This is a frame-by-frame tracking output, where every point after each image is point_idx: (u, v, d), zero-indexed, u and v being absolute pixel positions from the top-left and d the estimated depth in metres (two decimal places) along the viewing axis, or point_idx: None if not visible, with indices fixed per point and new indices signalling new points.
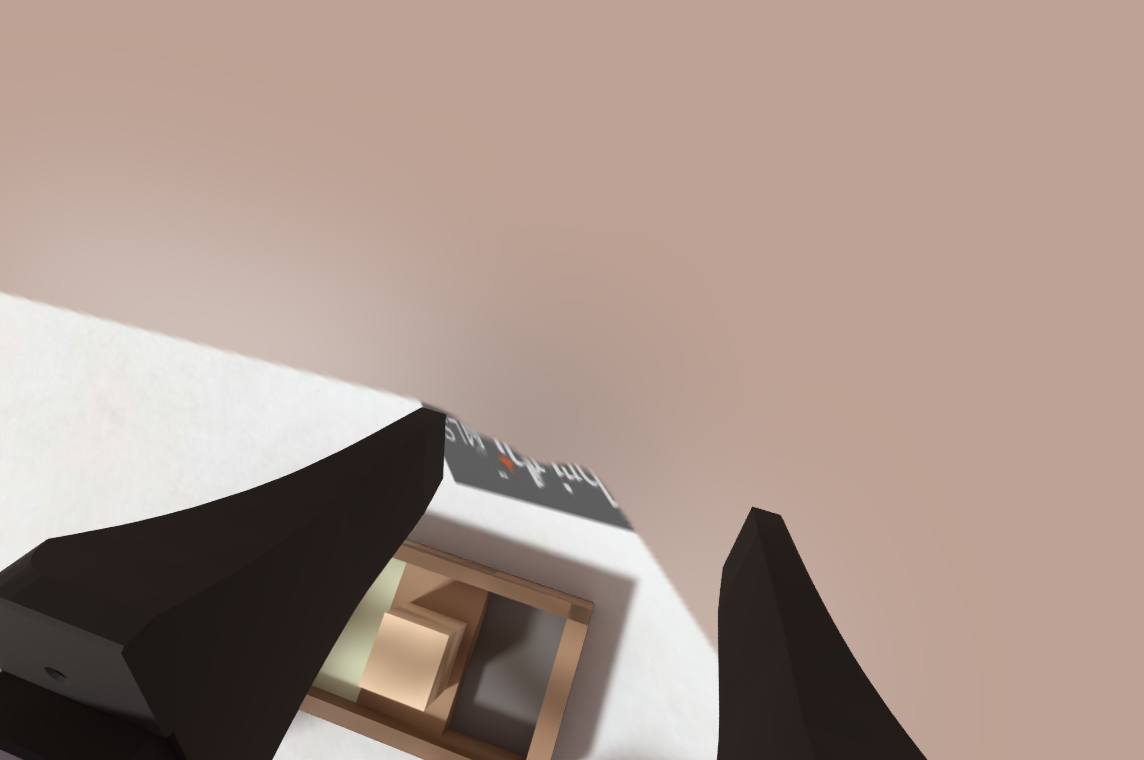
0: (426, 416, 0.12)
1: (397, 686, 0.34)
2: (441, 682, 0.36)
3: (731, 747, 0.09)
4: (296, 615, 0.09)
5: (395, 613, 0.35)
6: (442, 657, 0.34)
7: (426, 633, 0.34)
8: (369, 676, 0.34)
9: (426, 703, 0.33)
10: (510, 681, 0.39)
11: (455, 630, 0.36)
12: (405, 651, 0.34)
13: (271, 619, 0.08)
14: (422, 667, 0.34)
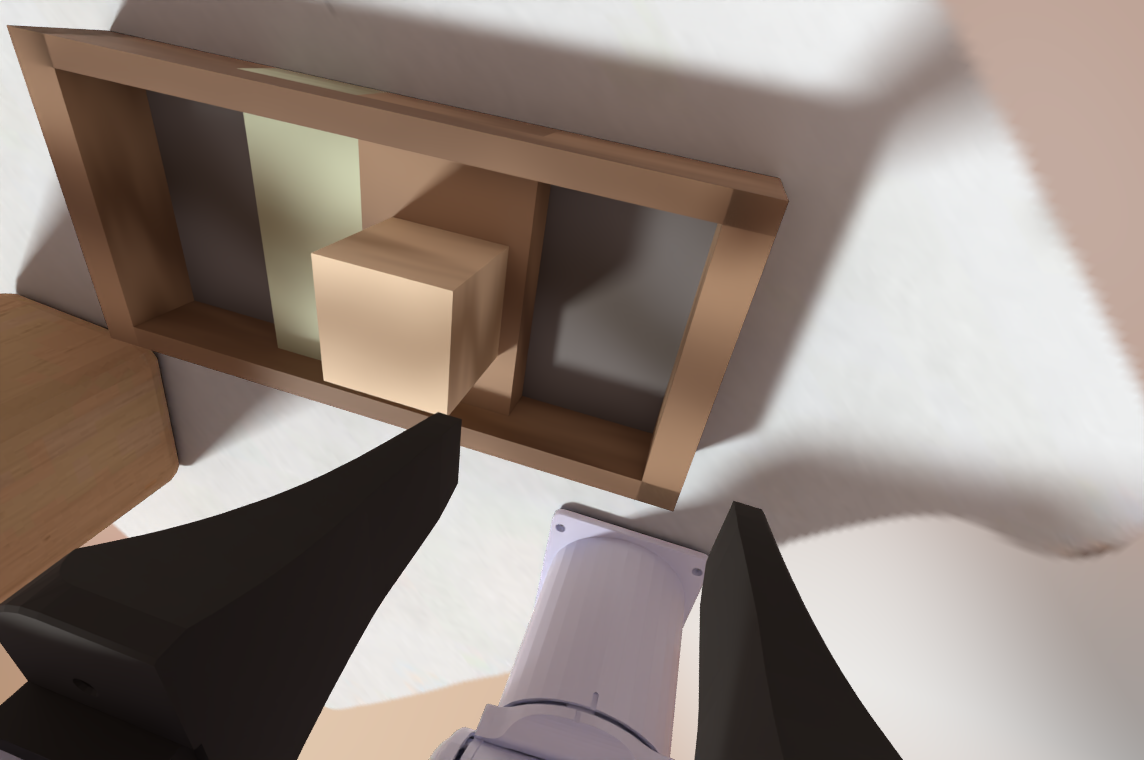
0: (442, 421, 0.12)
1: (387, 381, 0.18)
2: (478, 357, 0.19)
3: (708, 739, 0.09)
4: (318, 623, 0.09)
5: (339, 251, 0.16)
6: (453, 330, 0.16)
7: (406, 289, 0.16)
8: (334, 366, 0.18)
9: (447, 405, 0.18)
10: (612, 333, 0.22)
11: (474, 271, 0.17)
12: (378, 324, 0.16)
13: (295, 628, 0.08)
14: (421, 350, 0.17)
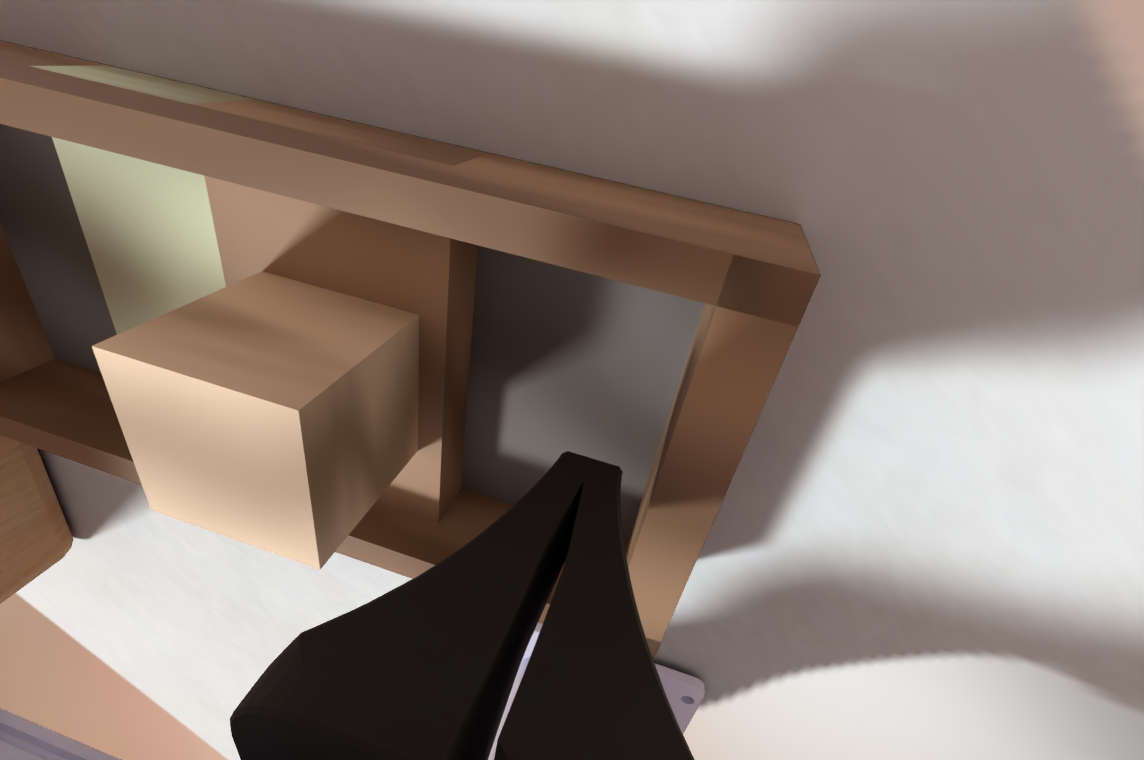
0: (577, 461, 0.12)
1: (232, 518, 0.12)
2: (376, 469, 0.14)
3: None
4: (500, 690, 0.08)
5: (143, 339, 0.11)
6: (312, 460, 0.11)
7: (232, 403, 0.10)
8: (160, 494, 0.12)
9: (320, 553, 0.12)
10: (570, 420, 0.16)
11: (350, 366, 0.11)
12: (205, 446, 0.11)
13: (492, 701, 0.08)
14: (269, 485, 0.11)
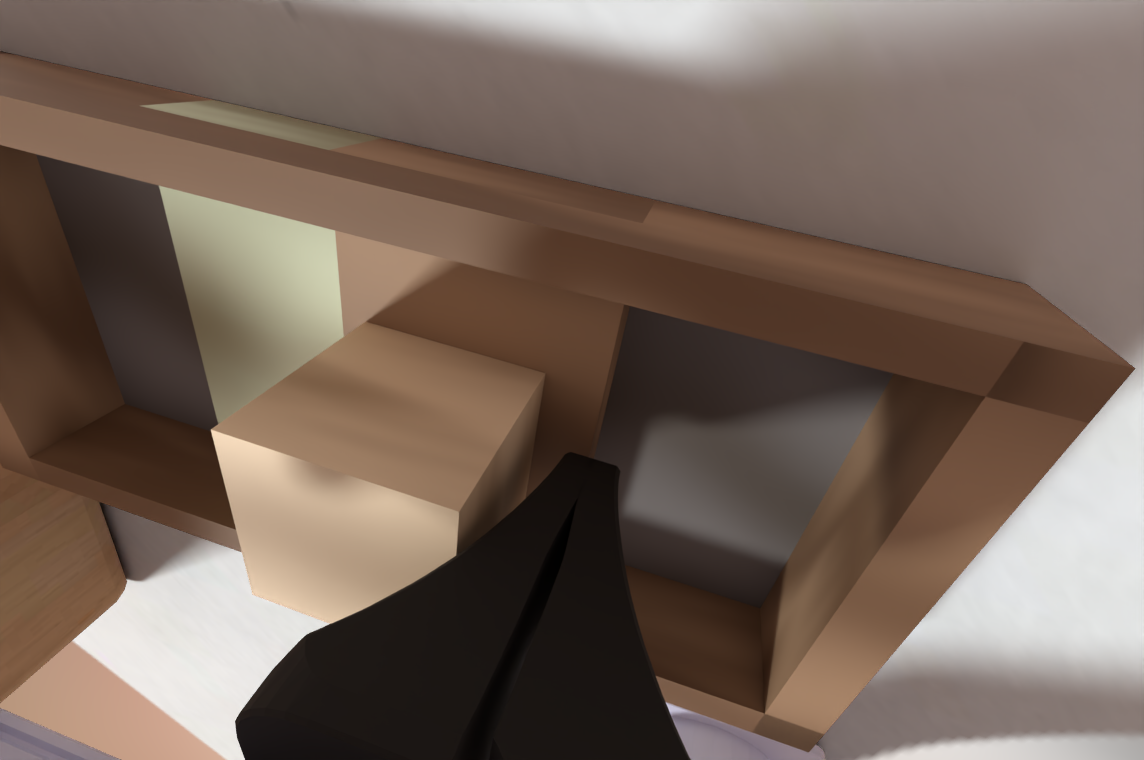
0: (580, 462, 0.12)
1: (351, 611, 0.11)
2: None
3: None
4: (504, 692, 0.08)
5: (264, 417, 0.10)
6: None
7: (376, 498, 0.09)
8: (267, 581, 0.11)
9: None
10: (713, 484, 0.15)
11: (495, 446, 0.10)
12: (333, 539, 0.10)
13: (496, 703, 0.08)
14: (405, 582, 0.10)
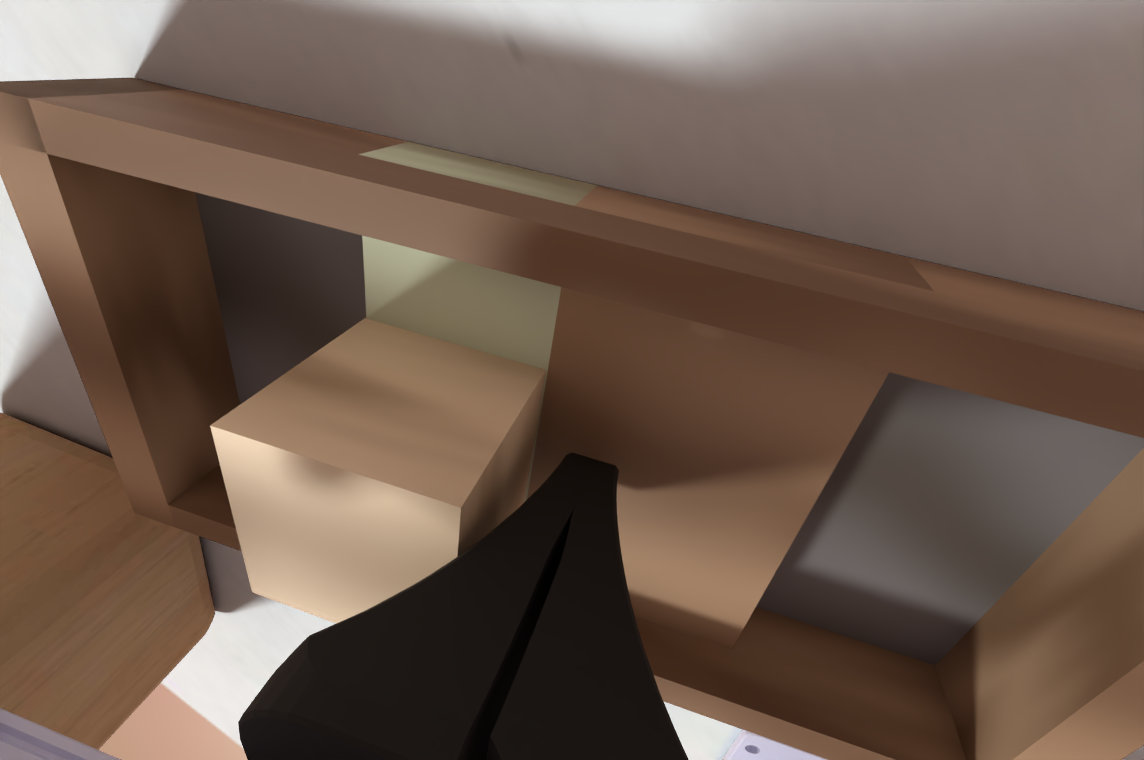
0: (581, 463, 0.12)
1: (352, 608, 0.11)
2: None
3: None
4: (506, 692, 0.08)
5: (263, 413, 0.09)
6: None
7: (378, 494, 0.09)
8: (267, 578, 0.11)
9: None
10: (910, 543, 0.14)
11: (497, 442, 0.10)
12: (334, 535, 0.10)
13: (498, 704, 0.08)
14: (406, 578, 0.10)
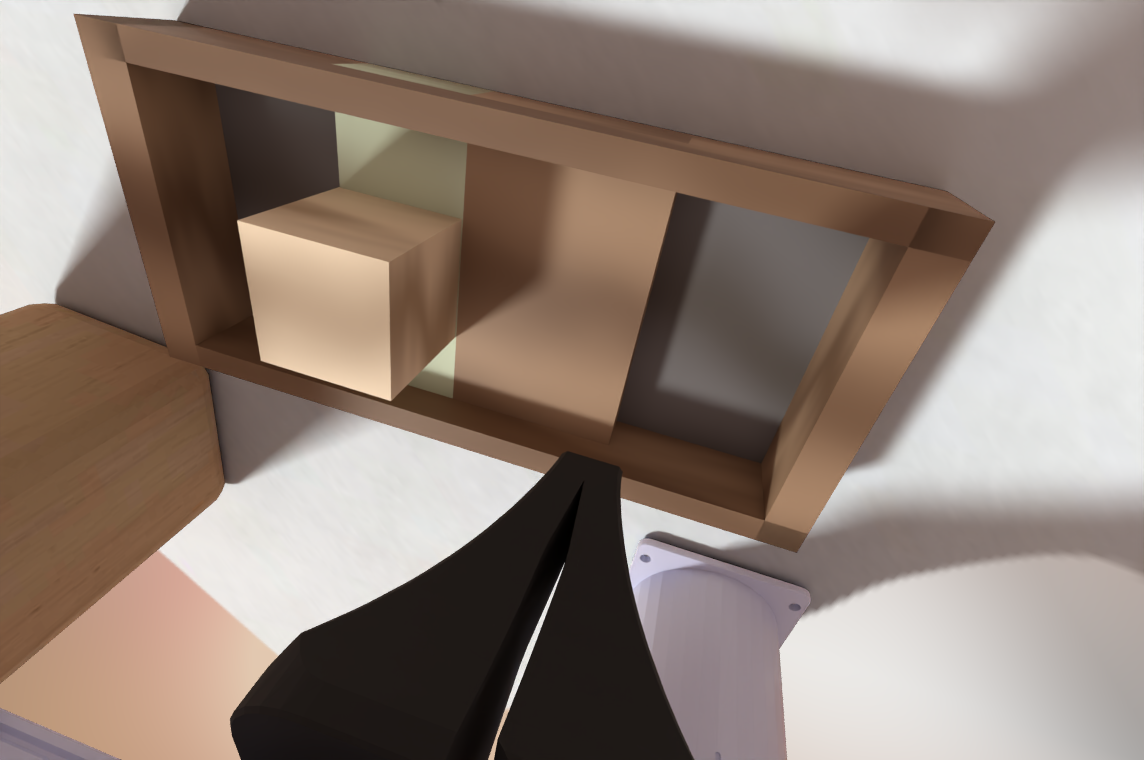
0: (577, 462, 0.12)
1: (327, 361, 0.16)
2: (428, 337, 0.18)
3: None
4: (500, 690, 0.08)
5: (269, 219, 0.15)
6: (393, 306, 0.15)
7: (339, 259, 0.14)
8: (271, 345, 0.17)
9: (391, 387, 0.16)
10: (728, 357, 0.20)
11: (418, 243, 0.15)
12: (313, 298, 0.15)
13: (492, 701, 0.08)
14: (359, 327, 0.15)
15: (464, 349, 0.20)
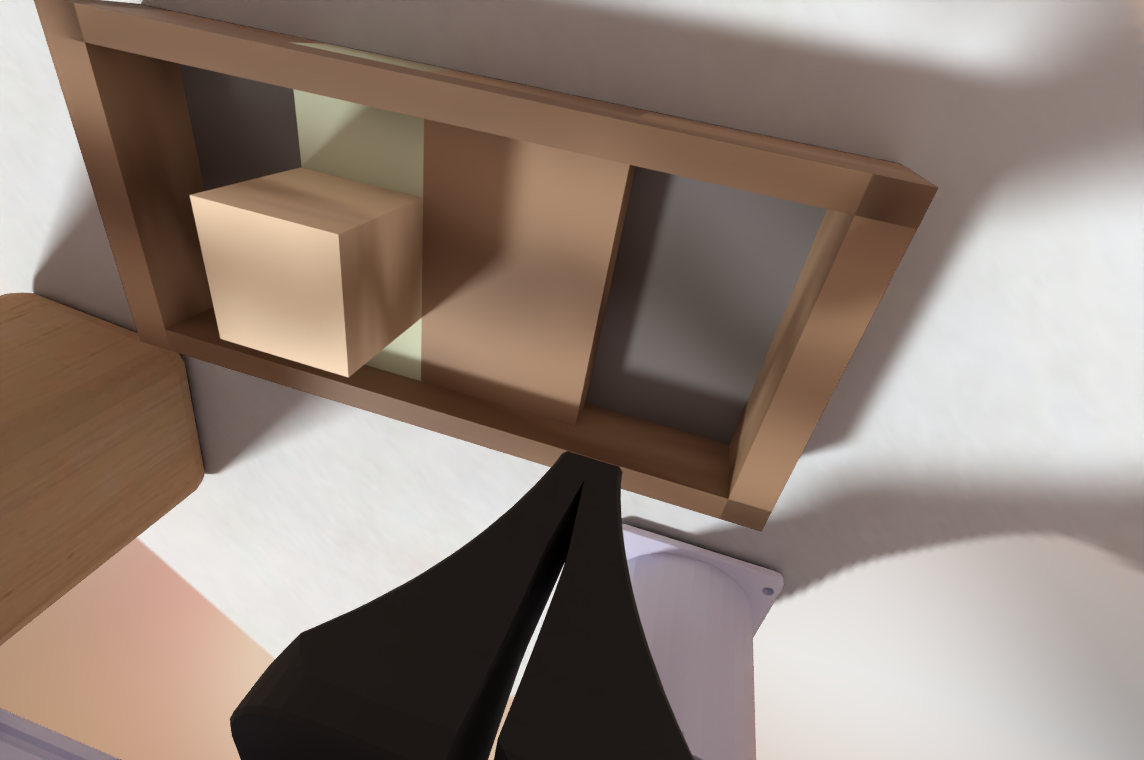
0: (577, 461, 0.12)
1: (284, 337, 0.16)
2: (389, 316, 0.18)
3: None
4: (500, 690, 0.08)
5: (223, 194, 0.15)
6: (345, 280, 0.15)
7: (291, 233, 0.14)
8: (229, 322, 0.17)
9: (348, 363, 0.16)
10: (692, 336, 0.20)
11: (372, 218, 0.16)
12: (268, 273, 0.15)
13: (492, 701, 0.08)
14: (314, 302, 0.15)
15: (430, 330, 0.20)
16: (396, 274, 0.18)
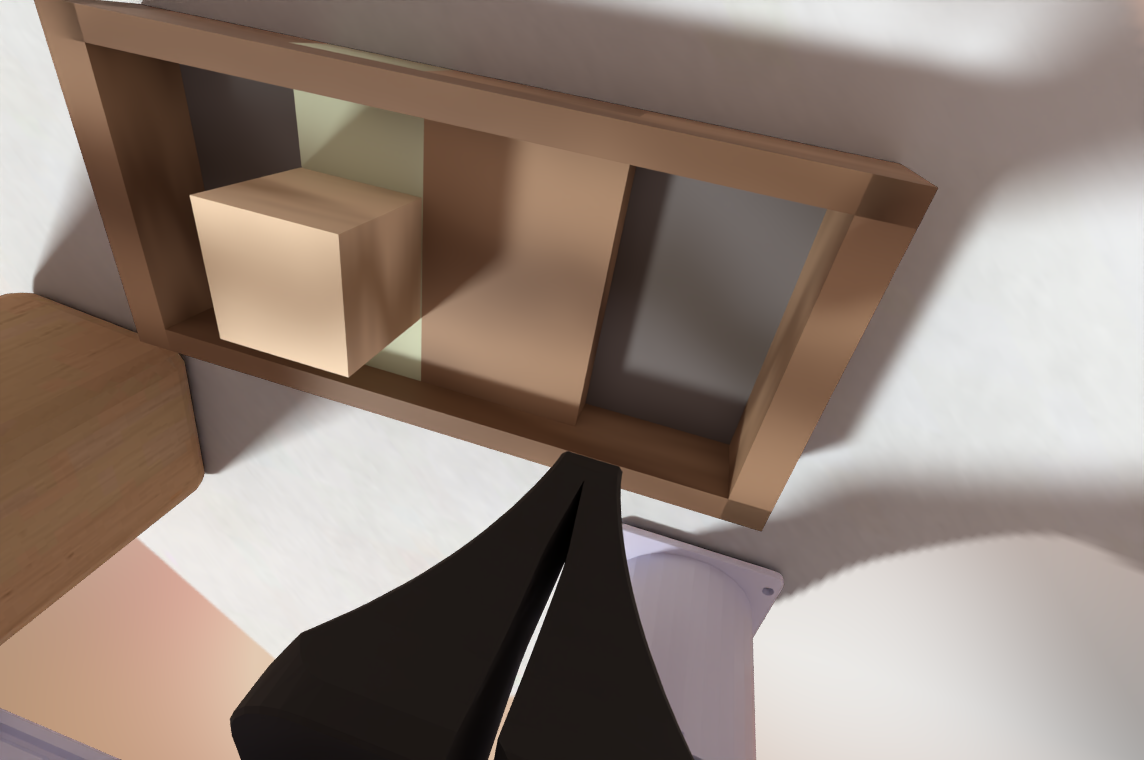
0: (577, 461, 0.12)
1: (284, 337, 0.16)
2: (389, 316, 0.18)
3: None
4: (500, 690, 0.08)
5: (223, 194, 0.15)
6: (345, 280, 0.15)
7: (291, 233, 0.14)
8: (229, 322, 0.17)
9: (348, 363, 0.16)
10: (692, 336, 0.20)
11: (372, 218, 0.16)
12: (268, 273, 0.15)
13: (492, 701, 0.08)
14: (314, 302, 0.15)
15: (430, 330, 0.20)
16: (396, 274, 0.18)
